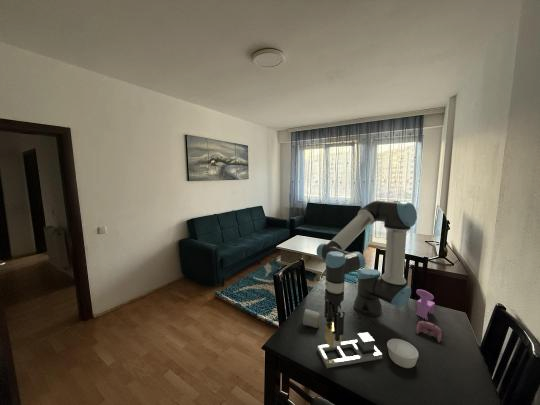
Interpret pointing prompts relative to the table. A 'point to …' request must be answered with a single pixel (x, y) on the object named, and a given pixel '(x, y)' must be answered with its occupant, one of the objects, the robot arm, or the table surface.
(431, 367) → the table surface
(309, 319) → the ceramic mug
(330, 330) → the yellow rectangular block
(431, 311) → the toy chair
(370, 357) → the white flat slotted board
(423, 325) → the video game controller
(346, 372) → the table surface
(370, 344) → the grey rectangular block
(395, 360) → the ramekin
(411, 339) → the table surface
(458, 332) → the table surface
